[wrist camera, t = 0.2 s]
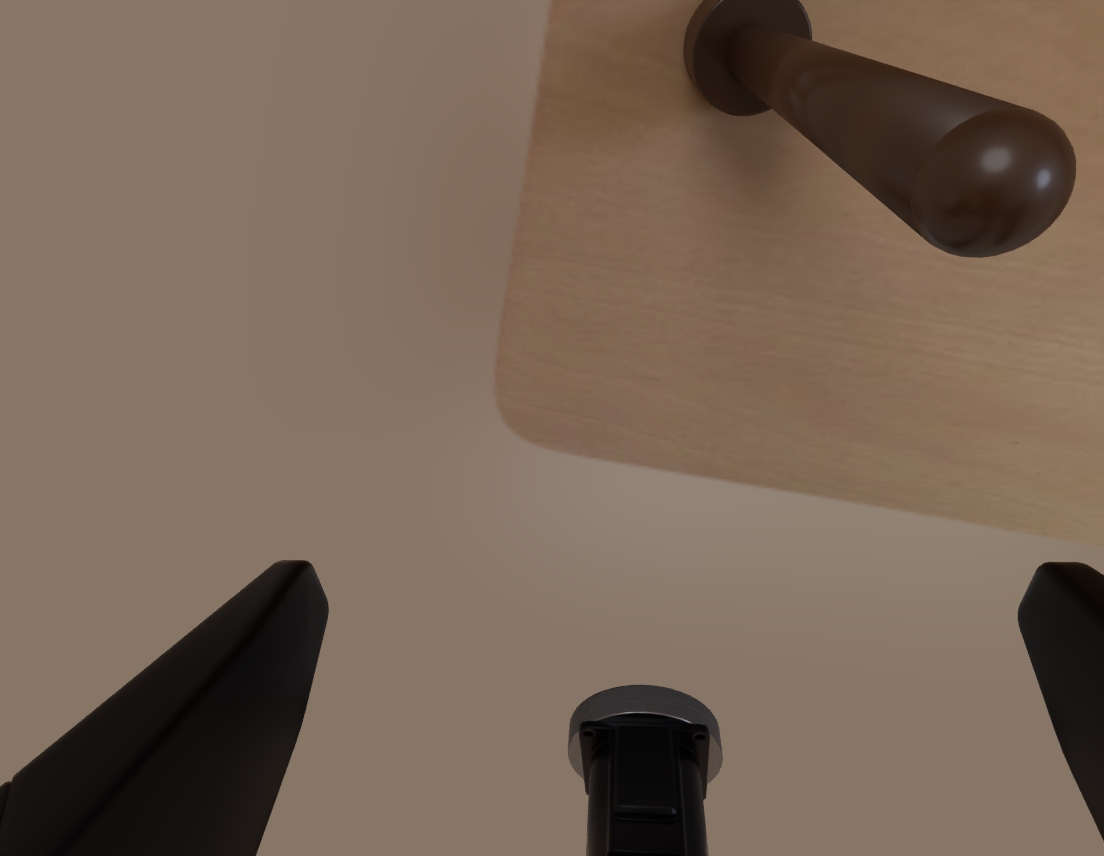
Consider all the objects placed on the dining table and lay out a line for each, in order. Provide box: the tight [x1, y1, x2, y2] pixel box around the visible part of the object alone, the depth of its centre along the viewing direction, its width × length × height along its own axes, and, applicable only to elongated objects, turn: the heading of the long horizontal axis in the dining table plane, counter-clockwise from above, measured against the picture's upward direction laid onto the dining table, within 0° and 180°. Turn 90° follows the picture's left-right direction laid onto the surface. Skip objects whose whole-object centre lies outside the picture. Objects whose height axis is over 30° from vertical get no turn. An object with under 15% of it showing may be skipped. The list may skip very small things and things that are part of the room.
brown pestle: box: [684, 0, 1076, 258], centre depth 12 cm, size 3×3×16 cm
